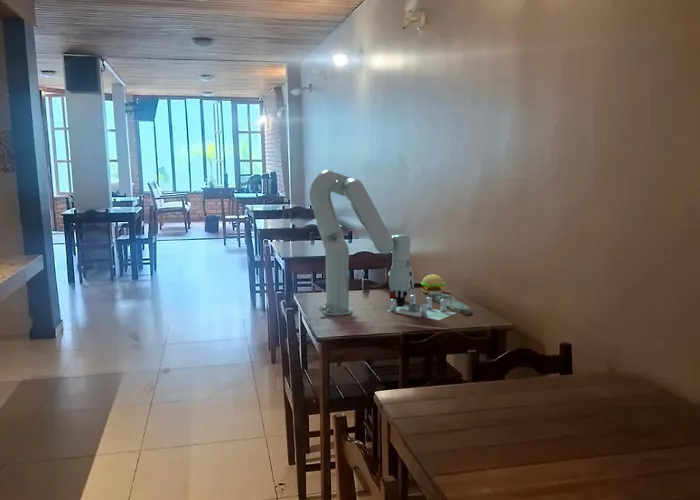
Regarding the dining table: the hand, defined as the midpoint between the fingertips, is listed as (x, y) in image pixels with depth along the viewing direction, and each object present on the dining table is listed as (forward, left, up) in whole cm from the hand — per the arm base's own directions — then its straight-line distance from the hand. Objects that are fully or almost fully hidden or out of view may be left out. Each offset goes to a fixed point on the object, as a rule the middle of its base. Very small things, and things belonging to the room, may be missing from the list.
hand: (400, 306), depth 251 cm
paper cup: (+12, +11, -2) cm, 17 cm away
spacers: (0, -9, -1) cm, 9 cm away
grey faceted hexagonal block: (0, -7, -1) cm, 7 cm away
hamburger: (+41, +9, -2) cm, 42 cm away
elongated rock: (+20, -12, -3) cm, 24 cm away
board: (0, -10, -2) cm, 10 cm away
